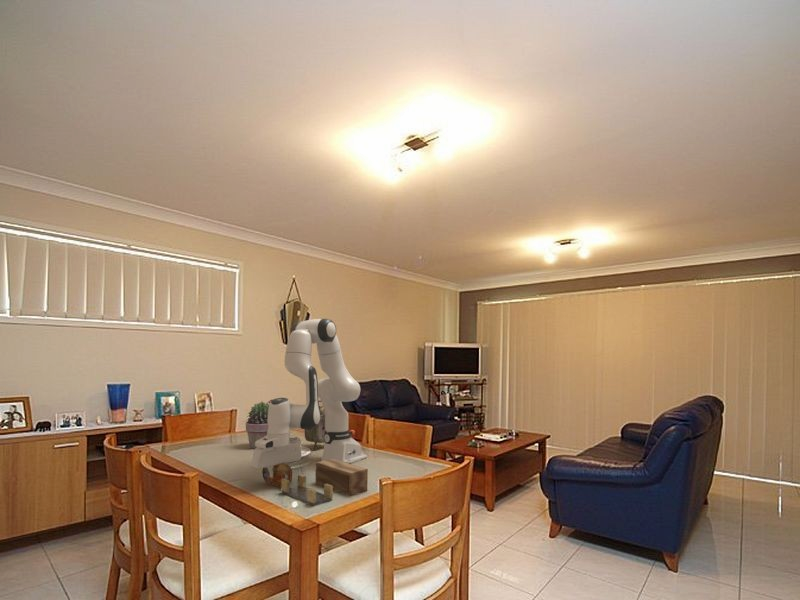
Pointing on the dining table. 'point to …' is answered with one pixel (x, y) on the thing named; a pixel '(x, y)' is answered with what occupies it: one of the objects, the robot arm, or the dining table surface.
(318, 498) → the grey pegged base
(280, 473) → the brown curved piece
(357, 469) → the brown wooden block
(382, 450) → the dining table surface
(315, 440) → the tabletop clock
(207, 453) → the dining table surface
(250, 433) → the potted plant
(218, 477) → the dining table surface
